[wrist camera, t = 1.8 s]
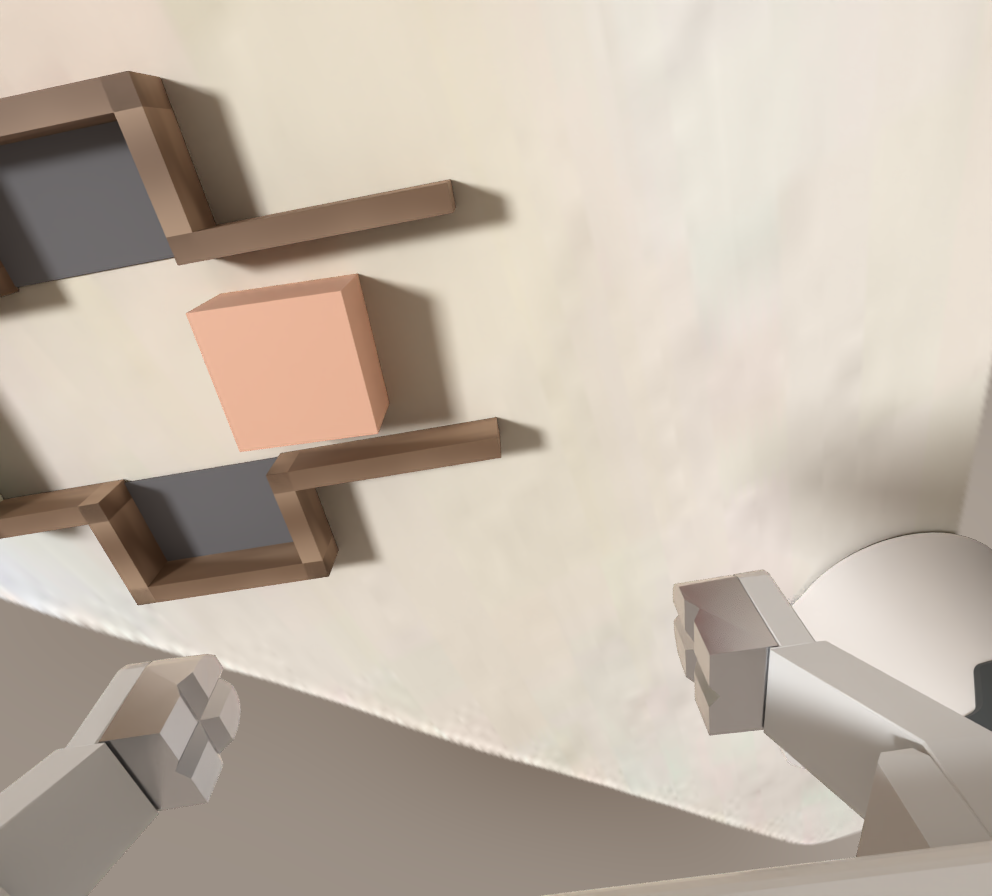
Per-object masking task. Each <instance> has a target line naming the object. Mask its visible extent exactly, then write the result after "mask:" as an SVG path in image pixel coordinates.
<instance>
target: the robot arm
mask: <svg viewBox="0 0 992 896" xmlns="http://www.w3.org/2000/svg"><path fill="white" fill-rule="evenodd" d="M673 603H674V605H675V607H676V610H677V612H678V616H677V617H676V619H675V620H674V632H675V640H676V645H677V651H678V655H679V658H680V661H681V664H682V667H683V670H684V672H685V675H686V677H687V678H689V679H690V680H691V681H693V682H694V683H695V701H696V703H697V706H698V708H699V711H700V713H701V716H702V718H703V721H704V723H705V726H706V728H707V731H708V733H709V735H718V734H727V733H737V732H746V731H755V730H764V733H765V734H766V735H767V736H768V737H770V738H771V739H772V740H773V741H774V742H775V743H777V744H778V745H779V746H780V749H781V752H782V754H783V756H784V757H785V759H786V760H787V762H788V763H789V764H790V765H792V766H795V767H799V768H803V769H807V770H808V771H809V772H810V773H811V774H812V775H814V776H815V777H816V778H817V779H818V780H819V781H820V782H822V783H823V784H824V785H825V786H826V787H827V788H829V789H830V790H831V791H832V792H833V793H834V794H835V795H837V796H838V797H839V798H840V799H841V800H842V801H844V802H845V803H846V804H847V805H848V806H849V807H850V808H851V809H853V810H854V811H855V812H856V813H857V814H859V815H860V816H861V817H862V818H863V819H864V824H863V828H862V832H861V837H860V841H859V845H858V850H857V854H856V857H853V858H844V859H836V860H829V861H820V862H812V863H803V864H796V865H787V866H779V867H771V868H763V869H754V870H746V871H738V872H730V873H722V874H714V875H705V876H697V877H690V878H681V879H673V880H665V881H656V882H648V883H640V884H632V885H624V886H616V887H608V888H599V889H591V890H583V891H574V892H566V893H558V894H550V895H542V896H992V550H991V549H990V548H989V547H987V546H986V545H984V544H983V543H981V542H978V541H976V540H974V539H971V538H969V537H965V536H961V535H956V534H950V533H919V534H911V535H905V536H900V537H896V538H892V539H889V540H885V541H882V542H879V543H876V544H874V545H871V546H869V547H866V548H864V549H862V550H860V551H858V552H856V553H854V554H852V555H850V556H848V557H847V558H845V559H843V560H842V561H840V562H838V563H837V564H835V565H834V566H833V567H831V568H830V569H829V570H827V571H826V572H825V573H824V574H822V575H821V576H820V577H819V578H818V579H817V580H816V581H815V582H814V583H813V584H812V585H811V586H810V587H809V588H808V589H807V590H806V591H805V593H804V594H803V595H802V596H801V597H800V598H799V599H798V600H797V601H796V602H795V603H794V604H793V605H792V606H791V605H790V603H789V602H788V600H787V599H786V597H785V596H784V594H783V593H782V592H781V590H780V589H779V587H778V586H777V584H776V583H775V581H774V580H773V578H772V577H771V575H770V574H769V573H768V572H766V571H765V570H757V571H751V572H745V573H739V574H734V575H733V576H732V575H728V576H722V577H715V578H709V579H703V580H696V581H690V582H684V583H677V584H674V587H673ZM222 670H223V667H222V665H221V663H220V662H219V660H218V659H217V657H216V656H215V655H211V654H202V655H194V656H186V657H178V658H170V659H162V660H155V661H151V662H143V663H134V664H128V665H126V666H125V667H123V668H122V669H120V670H119V671H118V672H117V673H116V675H115V676H114V678H113V679H112V681H111V682H110V684H109V685H108V687H107V688H106V690H105V691H104V692H103V694H102V695H101V697H100V698H99V700H98V701H97V703H96V704H95V706H94V707H93V708H92V710H91V712H90V713H89V714H88V716H87V717H86V719H85V720H84V722H83V723H82V725H81V726H80V728H79V729H78V731H77V732H76V733H75V735H74V736H73V738H72V739H71V741H70V742H69V744H68V745H67V747H66V748H63V749H57V750H55V751H54V752H53V753H51V754H50V755H49V756H48V757H46V758H45V759H44V760H42V761H41V762H40V763H38V764H37V765H36V766H35V767H33V768H32V769H31V770H29V771H28V772H27V773H26V774H24V775H23V776H22V777H20V778H19V779H18V780H16V781H15V782H14V783H13V784H11V785H10V786H9V787H8V788H6V789H5V790H4V791H2V792H1V793H0V896H88V895H89V893H90V892H91V891H92V890H93V889H94V888H95V887H96V885H97V884H98V883H99V882H100V881H101V879H103V877H104V876H105V875H106V874H107V873H108V872H109V871H110V869H111V868H112V867H113V866H114V865H115V864H116V863H117V861H118V860H119V859H120V858H121V857H122V856H123V855H124V853H125V852H126V851H127V850H128V849H129V848H130V847H131V845H132V844H133V843H134V842H135V841H136V840H137V839H138V837H139V836H140V835H141V834H142V833H143V832H144V831H145V829H146V828H147V827H148V826H149V825H150V824H151V822H152V821H153V820H154V819H155V818H156V817H157V816H158V814H159V813H158V811H162V810H168V809H173V808H174V809H175V808H180V807H187V806H193V805H199V804H205V803H208V801H209V798H210V796H211V794H212V791H213V789H214V786H215V784H216V781H217V779H218V777H219V774H220V772H221V769H222V767H223V762H222V759H221V756H220V753H221V752H222V751H223V750H224V749H225V748H226V747H227V746H228V745H229V744H230V743H231V742H232V741H233V740H234V737H235V734H236V732H237V729H238V726H239V721H240V709H241V706H240V702H239V697H238V694H237V692H236V690H235V688H234V686H233V685H232V684H230V683H228V682H226V681H225V680H223V679H221V678H220V676H221V672H222Z"/></svg>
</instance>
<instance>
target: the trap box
mask: <svg viewBox="0 0 992 896" xmlns="http://www.w3.org/2000/svg"><path fill="white" fill-rule="evenodd" d="M455 208H456V205H455V200H454V195H453V190H452V184H451V179H449V180H444V181H439V182H434V183H429V184H424V185H419V186H414V187H409V188H404V189H398V190H393V191H388V192H383V193H378V194H373V195H368V196H363V197H358V198H352V199H347V200H342V201H337V202H332V203H327V204H322V205H317V206H312V207H307V208H301V209H296V210H291V211H286V212H281V213H276V214H271V215H266V216H261V217H256V218H250V219H245V220H240V221H235V222H230V223H225V224H220V225H216V224H215V221H214V219H213V216H212V213H211V211H210V208H209V205H208V203H207V200H206V197H205V195H204V192H203V189H202V187H201V184H200V181H199V179H198V176H197V173H196V171H195V168H194V165H193V163H192V160H191V158H190V155H189V152H188V150H187V147H186V144H185V142H184V139H183V136H182V134H181V131H180V128H179V126H178V123H177V120H176V118H175V115H174V112H173V110H172V107H171V104H170V102H169V99H168V97H167V94H166V91H165V89H164V86H163V83H162V81H161V78H160V77H156V76H151V75H146V74H141V73H136V72H131V71H125V72H121V73H116V74H112V75H107V76H102V77H98V78H93V79H89V80H84V81H79V82H75V83H70V84H66V85H61V86H56V87H52V88H47V89H43V90H38V91H33V92H29V93H24V94H19V95H15V96H10V97H6V98H1V99H0V297H2V296H5V295H9V294H12V293H15V292H18V291H19V290H18V288H17V287H21V286H26V285H31V284H36V283H41V282H47V281H52V280H57V279H62V278H67V277H73V276H78V275H83V274H88V273H93V272H98V271H104V270H109V269H114V268H119V267H124V266H130V265H135V264H140V263H145V262H150V261H155V260H161V259H166V258H171V257H175V260H176V262H177V265H183V264H189V263H194V262H199V261H204V260H210V259H215V258H220V257H225V256H230V255H236V254H241V253H246V252H251V251H256V250H262V249H267V248H272V247H277V246H282V245H288V244H293V243H298V242H303V241H309V240H314V239H319V238H324V237H329V236H335V235H340V234H345V233H350V232H355V231H361V230H366V229H371V228H376V227H381V226H387V225H392V224H397V223H402V222H408V221H413V220H418V219H423V218H428V217H434V216H439V215H444V214H449V213H453V212H454V210H455ZM495 458H501V442H500V432H499V427H498V422H497V417H495V418H489V419H483V420H477V421H471V422H465V423H459V424H453V425H447V426H441V427H435V428H429V429H423V430H417V431H411V432H405V433H399V434H393V435H387V436H381V437H375V438H369V439H363V440H357V441H351V442H345V443H339V444H333V445H327V446H321V447H315V448H309V449H304V450H298V451H292V452H286V453H280V455H279V456H278V457H275V458H269V459H263V460H257V461H251V462H245V463H239V464H233V465H227V466H221V467H215V468H209V469H203V470H197V471H191V472H185V473H179V474H173V475H167V476H161V477H155V478H149V479H143V480H137V481H131V482H125V481H124V480H118V481H112V482H106V483H100V484H94V485H88V486H82V487H76V488H70V489H64V490H58V491H52V492H46V493H40V494H34V495H28V496H22V497H16V498H10V499H3V498H2V496H1V495H0V539H1V538H7V537H13V536H20V535H26V534H32V533H38V532H44V531H51V530H57V529H63V528H69V527H75V526H81V525H89V526H90V528H91V530H92V531H93V533H94V534H95V536H96V538H97V539H98V541H99V543H100V544H101V546H102V548H103V549H104V551H105V552H106V554H107V556H108V557H109V559H110V561H111V562H112V564H113V566H114V567H115V569H116V570H117V572H118V574H119V575H120V577H121V579H122V580H123V582H124V584H125V585H126V587H127V588H128V590H129V592H130V593H131V595H132V597H133V598H134V600H135V602H136V603H137V605H143V604H150V603H156V602H163V601H170V600H176V599H183V598H190V597H196V596H203V595H209V594H216V593H223V592H229V591H236V590H243V589H249V588H256V587H263V586H269V585H276V584H282V583H289V582H296V581H302V580H309V579H316V578H322V577H329V575H330V572H331V569H332V567H333V564H334V561H335V558H336V556H337V553H338V547H337V545H336V542H335V539H334V537H333V534H332V531H331V529H330V526H329V524H328V521H327V518H326V516H325V513H324V510H323V508H322V505H321V502H320V500H319V497H318V494H317V492H316V489H315V488H316V487H322V486H329V485H335V484H341V483H347V482H353V481H359V480H366V479H372V478H378V477H384V476H390V475H397V474H403V473H409V472H415V471H421V470H427V469H434V468H440V467H446V466H452V465H458V464H464V463H471V462H477V461H483V460H489V459H495Z"/></svg>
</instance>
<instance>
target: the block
mask: <svg viewBox="0 0 992 896" xmlns="http://www.w3.org/2000/svg"><path fill="white" fill-rule="evenodd" d="M186 315H187V318H188V320H189V323H190V325H191V328H192V331H193V333H194V336H195V338H196V341H197V343H198V346H199V348H200V351H201V354H202V356H203V359H204V361H205V364H206V366H207V369H208V371H209V374H210V377H211V379H212V382H213V384H214V387H215V389H216V392H217V395H218V397H219V400H220V402H221V405H222V407H223V410H224V412H225V415H226V418H227V420H228V423H229V425H230V428H231V430H232V433H233V435H234V438H235V441H236V443H237V446H238V448H239V451H240V452H243V451H251V450H258V449H266V448H273V447H281V446H289V445H296V444H304V443H311V442H319V441H326V440H334V439H342V438H349V437H357V436H364V435H372V434H378V432H379V430H380V427H381V424H382V422H383V419H384V416H385V414H386V411H387V408H388V406H389V400H388V395H387V391H386V387H385V383H384V379H383V375H382V371H381V367H380V363H379V359H378V354H377V350H376V346H375V342H374V338H373V334H372V330H371V326H370V322H369V317H368V313H367V309H366V305H365V301H364V297H363V293H362V289H361V285H360V280H359V276H358V274H351V275H344V276H338V277H331V278H324V279H317V280H310V281H304V282H297V283H290V284H283V285H276V286H270V287H263V288H256V289H249V290H242V291H236V292H229V293H222V294H219V295H217V296H216V297H214V298H212V299H210V300H209V301H207V302H205V303H203V304H201V305H200V306H198V307H196V308H194V309H193V310H191V311H189V312H187V313H186Z"/></svg>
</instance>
